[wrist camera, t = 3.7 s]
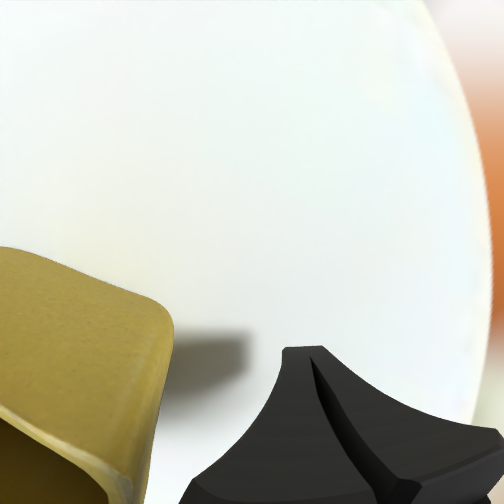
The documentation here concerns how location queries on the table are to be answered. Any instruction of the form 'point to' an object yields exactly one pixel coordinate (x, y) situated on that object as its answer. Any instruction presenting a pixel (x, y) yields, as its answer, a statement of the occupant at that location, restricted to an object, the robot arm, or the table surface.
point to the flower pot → (76, 384)
